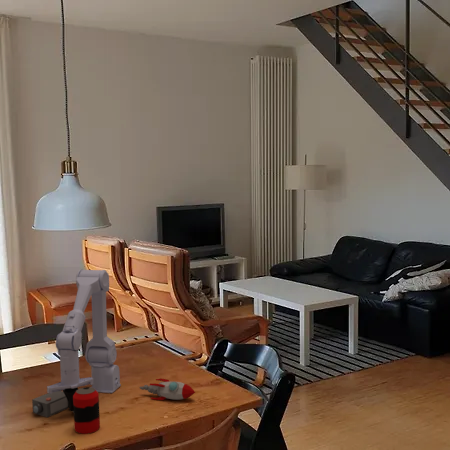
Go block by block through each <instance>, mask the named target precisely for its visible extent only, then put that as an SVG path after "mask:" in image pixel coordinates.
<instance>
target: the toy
mask: <svg viewBox="0 0 450 450" xmlns="http://www.w3.org/2000/svg"><path fill="white" fill-rule="evenodd" d="M155 381H158V382H159V381H161V382H159V383H149V385H148V384H144V385H143V386H139V389H140V390H142V391H144V390H145V391H147V392H148V393H150V394H153V395H157V396H158V397H150V399H152V400H154V401H164V400H166V399H170V400H175V401H176V400H178V401H179V400H186V399H188V398H190V397H191V396H193V395H195V393H196V391H195V390H194V389H193V388H192V386H190V385H189V384H187V383H184V382H180V381H174V380H173V381H170V380H169V379H166V378H156V379H155Z"/></svg>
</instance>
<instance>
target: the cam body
mask: <svg viewBox="0 0 450 450" xmlns="http://www.w3.org/2000/svg"><path fill="white" fill-rule="evenodd" d="M31 401H32V413H33V414H35V415H38V416H41V417H43V418H50V417H52V416H54V415H56V414H58V413H61V412H63V411H65V410H69V408H68V400H67V398H66V396H65V394H64V392H63V390H62V391H57V392H53V393H52V394H49V393H48V392H47V393H45V394H42V395H40V396H37V397H34V398H33V399H32V400H31Z"/></svg>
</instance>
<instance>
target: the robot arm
mask: <svg viewBox="0 0 450 450" xmlns="http://www.w3.org/2000/svg"><path fill="white" fill-rule="evenodd" d="M109 275H110V274H109V273H108V271H107V270H106V269H83V268H82V269H81V268H80V269H79V270H78V271H77V272H76V276H75V284H76V285H75V286H76V288H77V292H76V297H75V300H74V304H73V309H72V310H70V311H69V312H68V313H67V317H66V320H65V322H64V325H63V328H62V331H61V332H60V333H58V334H57V336H56V338H55V348H56V350H57V354H58V356H59V367H60V382H57V383H54V384H52V385H47V386H46V392H47V393H49V394H52V393H53V392H57V391H63V392H64V394H65V396H66V398H67V400H68V411H70V412H71V413H73V411H74V406H73V395H74V394H75V392H76V391H77V390H78V389H79V387H83V386H84V387H85V386H90V387H91V388H94V389H95V390H96V391H97V392H98V393H108V394H113V393H114V392H115V391H116V390H117V389H119V387H122V384H121V380H120V379H121V378H120V367H119V365H117V364H114V363H115V362H116V360H117V356H118V355H117V348H116V341H114V340H113V339H111V338H110V337H109V336H108V328H107V327H108V325H107V292H110V276H109ZM90 298H91V319H92V320H91V321H92V323H91V324H92V328H91V329H92V338H91V339H90V340H89V341H88V342H87V343H86V349H85V353H84V355H85V361H86V362H87V363H88V364H89V366H90V367H91V368H90V369H91V372H90V373H91V377H90V376H89V377H82V378H80V360H79V359H80V358H79V356H80V355H79V349H81V348H80V347H81V345H82V341H83V340H82V337H83V333H82V330H83V327H84V324H85V321H86V317H87V316H86V315H85V310H86V309H87V306H88V303H89V301H90Z"/></svg>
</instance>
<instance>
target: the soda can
mask: <svg viewBox="0 0 450 450" xmlns="http://www.w3.org/2000/svg"><path fill="white" fill-rule="evenodd" d="M91 387H92V386H89V387H85V386H84V387H81V388H78V390H77V391H76V392H75V394H74V395H73V406H74V413H73V424H74V425H73V427H74V431H75V432H76V433H77V432H78V434H80V433H81V434H82V435H86V434H87V435H88V433H89V434H92V433H95V432H97V431H98V430H99V429H100V428H101V419H100V417H101V416H100V398H99V397H100V396H99V393H100V392H97V391H96V390H95V389H94V388H91Z"/></svg>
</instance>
